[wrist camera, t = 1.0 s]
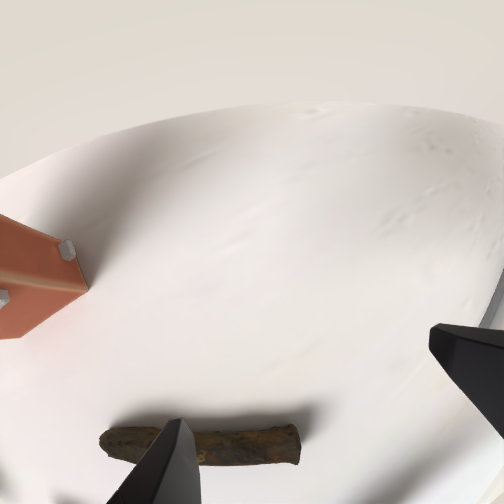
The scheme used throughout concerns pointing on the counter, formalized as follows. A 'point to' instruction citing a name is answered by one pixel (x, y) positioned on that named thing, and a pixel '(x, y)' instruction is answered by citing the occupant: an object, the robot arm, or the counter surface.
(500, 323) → the base
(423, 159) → the counter surface
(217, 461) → the hand tool
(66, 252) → the brown case
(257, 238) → the counter surface
